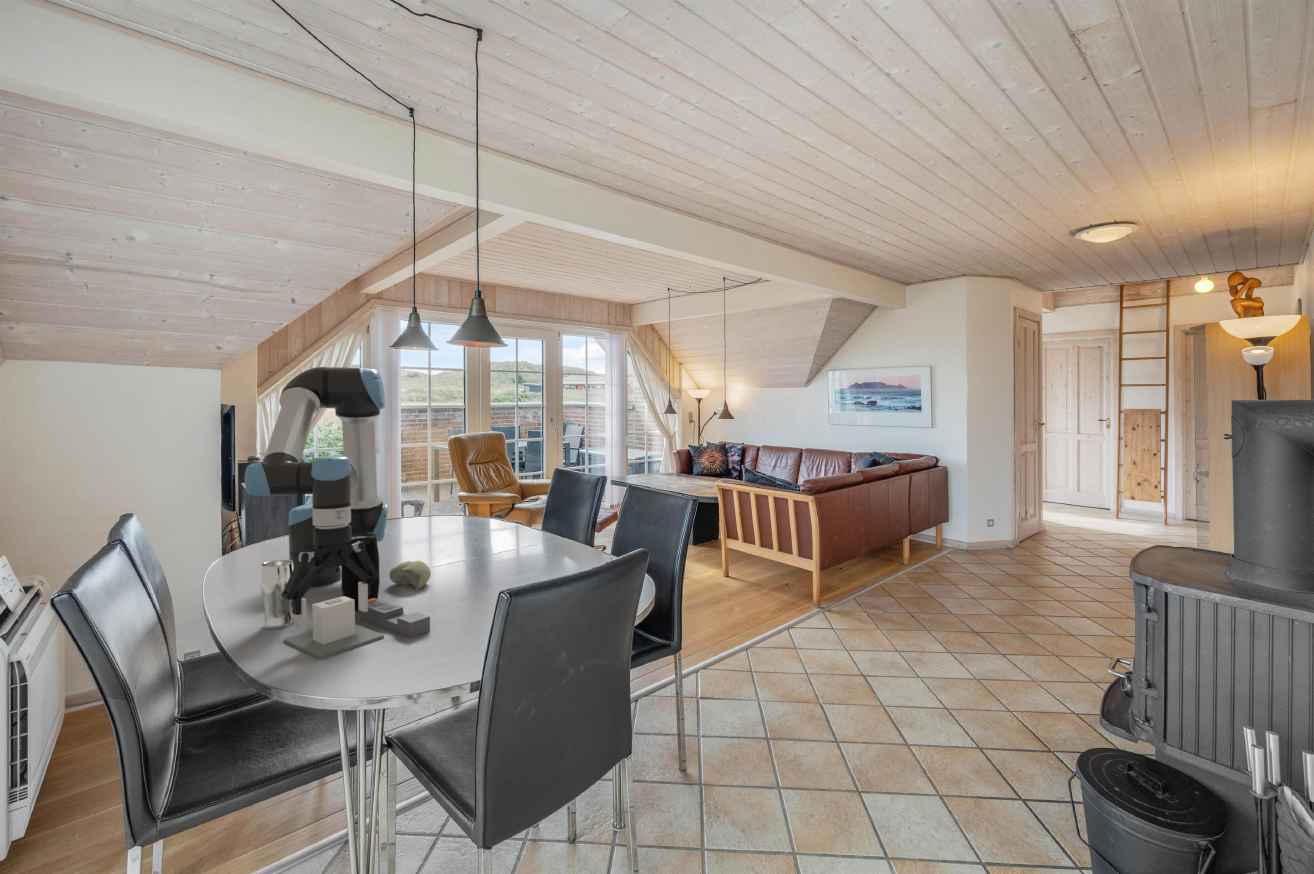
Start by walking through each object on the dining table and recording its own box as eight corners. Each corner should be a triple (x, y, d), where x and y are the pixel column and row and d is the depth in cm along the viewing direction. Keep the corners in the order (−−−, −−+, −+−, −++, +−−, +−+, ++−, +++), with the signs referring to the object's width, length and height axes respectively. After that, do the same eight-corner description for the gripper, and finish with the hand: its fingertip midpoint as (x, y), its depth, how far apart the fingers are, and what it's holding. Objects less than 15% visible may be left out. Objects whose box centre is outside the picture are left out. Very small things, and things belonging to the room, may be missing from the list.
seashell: (382, 561, 170) (412, 550, 178) (384, 587, 171) (414, 574, 179) (409, 572, 163) (439, 560, 171) (411, 598, 165) (441, 585, 173)
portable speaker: (372, 612, 149) (371, 538, 148) (335, 612, 148) (334, 538, 147) (385, 601, 157) (384, 531, 156) (350, 601, 156) (348, 531, 155)
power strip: (358, 617, 145) (358, 601, 144) (377, 611, 149) (377, 596, 149) (410, 637, 132) (410, 620, 132) (430, 630, 136) (429, 613, 136)
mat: (283, 641, 130) (283, 638, 130) (346, 622, 141) (346, 620, 141) (319, 659, 121) (319, 656, 121) (383, 637, 132) (383, 635, 132)
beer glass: (269, 632, 135) (268, 568, 134) (255, 625, 138) (253, 563, 138) (301, 622, 141) (300, 561, 140) (286, 617, 144) (285, 557, 144)
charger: (313, 639, 129) (312, 603, 129) (344, 629, 135) (344, 595, 135) (323, 644, 127) (322, 607, 126) (355, 634, 133) (354, 598, 132)
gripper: (278, 537, 117) (281, 640, 118) (394, 518, 138) (395, 606, 139) (262, 532, 121) (264, 632, 122) (376, 515, 142) (377, 600, 143)
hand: (333, 619), depth 131 cm, fingers open, 13 cm apart
